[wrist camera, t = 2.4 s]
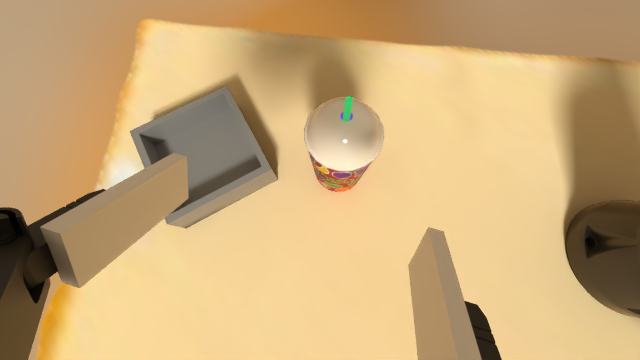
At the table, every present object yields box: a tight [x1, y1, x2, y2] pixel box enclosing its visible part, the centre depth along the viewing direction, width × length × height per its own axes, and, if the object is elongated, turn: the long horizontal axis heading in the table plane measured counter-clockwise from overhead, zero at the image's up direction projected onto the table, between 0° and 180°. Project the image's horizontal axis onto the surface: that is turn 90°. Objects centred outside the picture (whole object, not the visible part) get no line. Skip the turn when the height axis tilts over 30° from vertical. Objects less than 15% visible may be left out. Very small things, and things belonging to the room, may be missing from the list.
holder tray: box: [130, 86, 278, 228], centre depth 40 cm, size 15×15×5 cm
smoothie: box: [304, 96, 384, 192], centre depth 32 cm, size 8×8×20 cm
